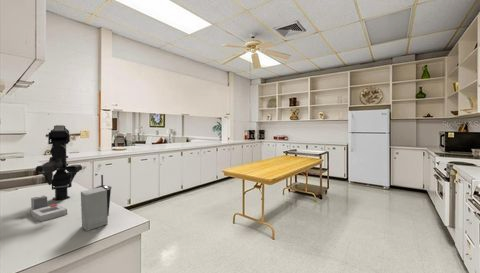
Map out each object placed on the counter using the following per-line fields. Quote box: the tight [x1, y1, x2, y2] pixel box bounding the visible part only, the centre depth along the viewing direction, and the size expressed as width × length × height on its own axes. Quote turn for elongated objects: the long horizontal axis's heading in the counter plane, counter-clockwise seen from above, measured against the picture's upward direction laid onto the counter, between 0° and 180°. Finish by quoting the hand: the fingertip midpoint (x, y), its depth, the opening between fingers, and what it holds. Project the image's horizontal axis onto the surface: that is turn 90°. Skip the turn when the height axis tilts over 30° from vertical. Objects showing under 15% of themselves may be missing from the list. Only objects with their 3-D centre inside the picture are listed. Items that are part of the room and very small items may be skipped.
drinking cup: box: [92, 174, 112, 216], centre depth 103 cm, size 8×8×20 cm
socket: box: [30, 203, 68, 222], centre depth 104 cm, size 12×10×3 cm
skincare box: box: [80, 187, 109, 232], centre depth 93 cm, size 8×7×16 cm
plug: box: [30, 195, 48, 210], centre depth 109 cm, size 4×5×7 cm
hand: (59, 184), depth 111 cm, fingers open, 9 cm apart
